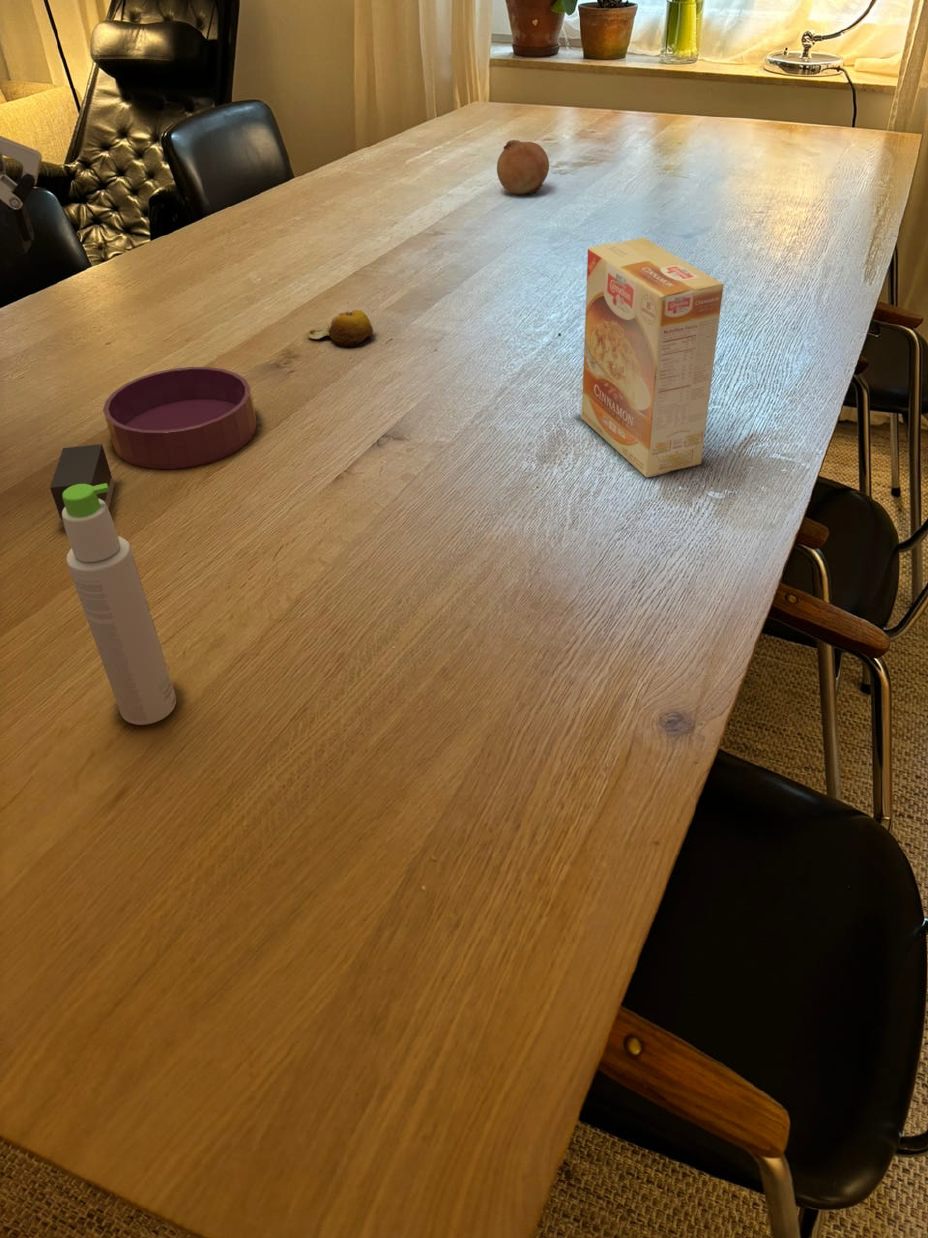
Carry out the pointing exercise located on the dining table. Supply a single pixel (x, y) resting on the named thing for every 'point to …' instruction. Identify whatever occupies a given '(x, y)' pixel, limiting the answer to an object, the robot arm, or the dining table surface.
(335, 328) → the fruit
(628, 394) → the coffeecake box
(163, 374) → the bowl
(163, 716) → the bottle
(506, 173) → the onion
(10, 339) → the dining table surface
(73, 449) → the eraser
